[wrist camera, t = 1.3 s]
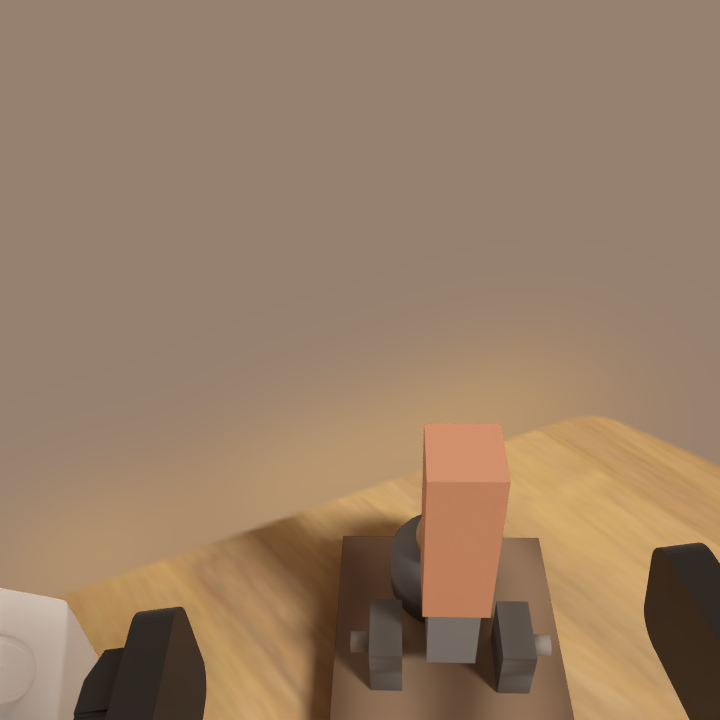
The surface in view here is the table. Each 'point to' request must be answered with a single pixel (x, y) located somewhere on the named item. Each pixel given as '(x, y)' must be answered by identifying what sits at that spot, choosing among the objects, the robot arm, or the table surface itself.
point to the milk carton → (41, 657)
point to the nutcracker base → (408, 644)
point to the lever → (460, 534)
